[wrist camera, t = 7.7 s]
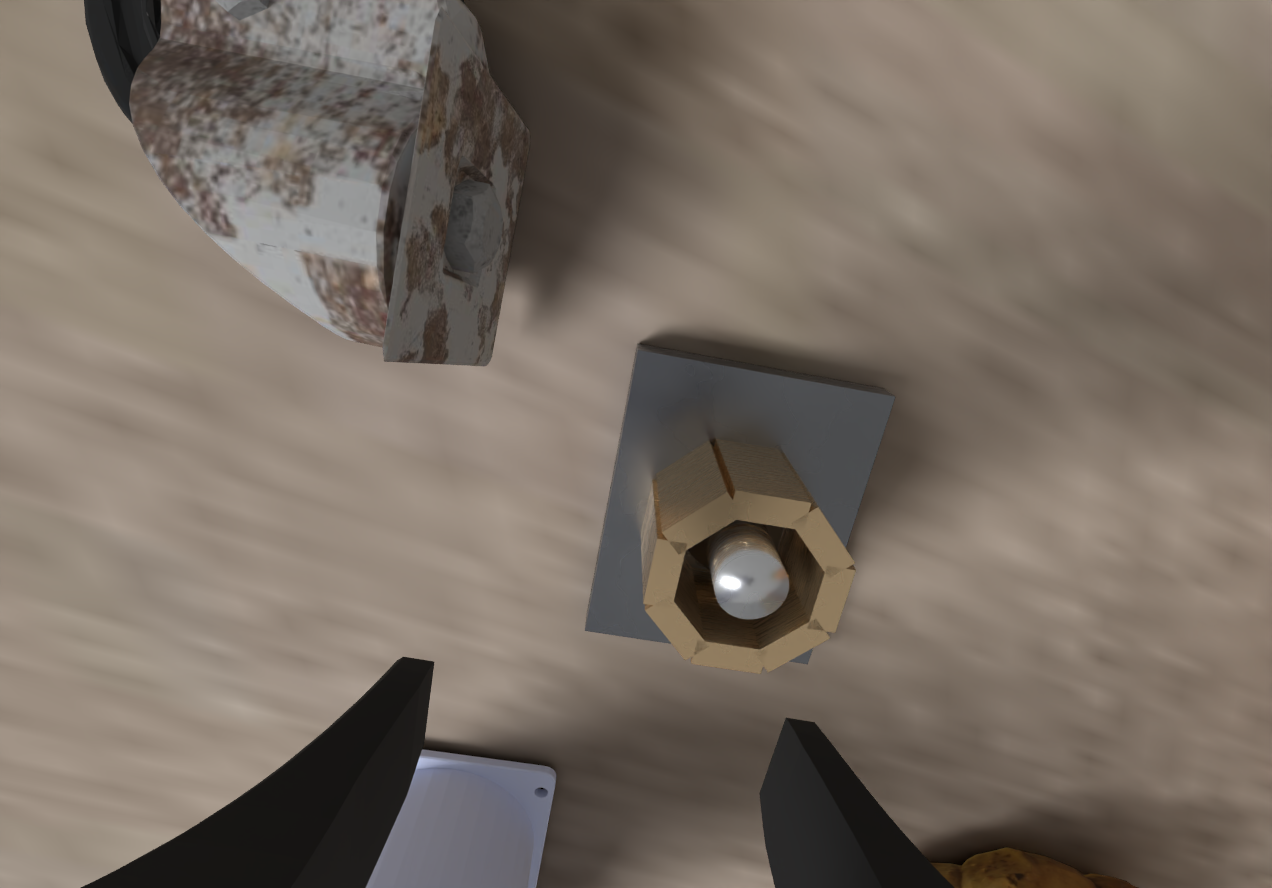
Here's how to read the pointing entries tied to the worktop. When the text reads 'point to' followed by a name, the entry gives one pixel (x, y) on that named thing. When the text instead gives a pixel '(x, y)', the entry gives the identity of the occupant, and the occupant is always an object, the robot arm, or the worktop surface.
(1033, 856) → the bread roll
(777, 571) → the stub shaft
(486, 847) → the robot arm
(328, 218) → the caster wheel
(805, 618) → the hub ring
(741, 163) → the worktop surface
